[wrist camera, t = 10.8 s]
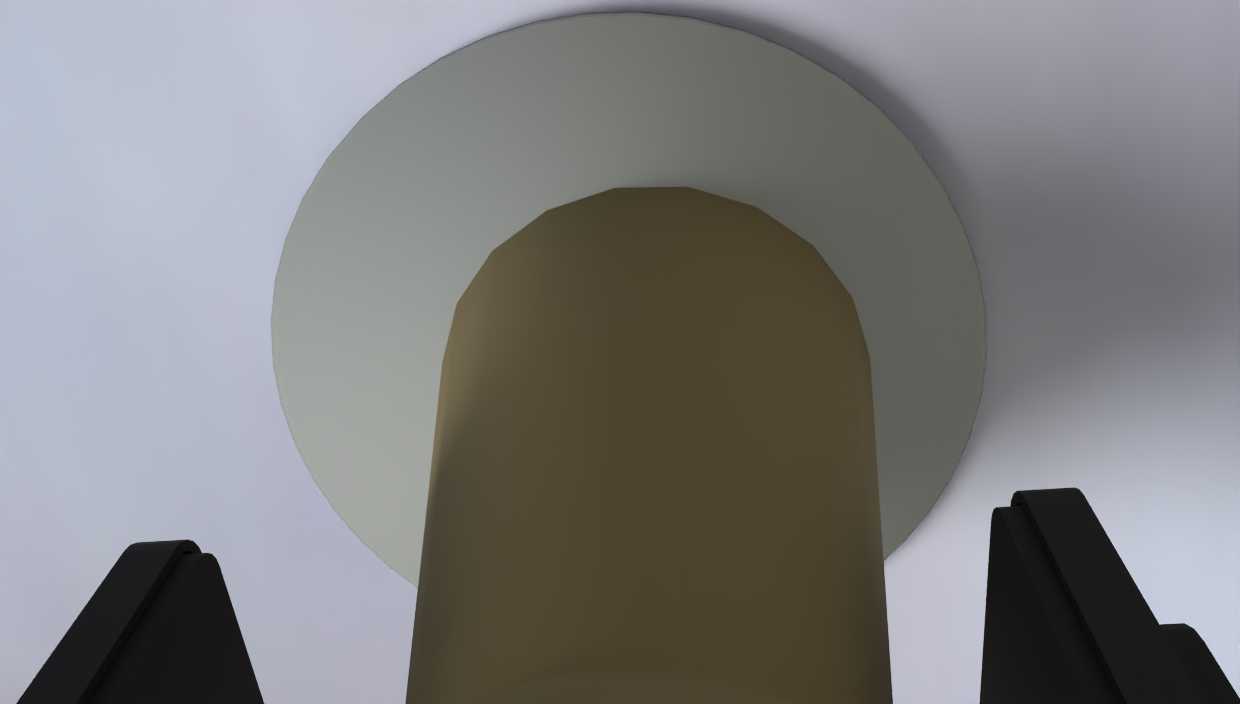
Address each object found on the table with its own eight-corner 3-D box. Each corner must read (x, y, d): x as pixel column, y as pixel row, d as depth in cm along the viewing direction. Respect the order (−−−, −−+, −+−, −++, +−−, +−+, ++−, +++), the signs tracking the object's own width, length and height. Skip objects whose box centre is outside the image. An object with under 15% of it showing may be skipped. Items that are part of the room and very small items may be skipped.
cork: (455, 155, 14) (-6, 962, 5) (918, 217, 14) (1438, 1127, 5) (432, 534, 17) (116, 1543, 7) (821, 583, 17) (1023, 1639, 7)
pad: (1000, -26, 13) (1007, -23, 13) (965, 623, 18) (970, 635, 18) (195, 50, 14) (186, 55, 14) (356, 653, 19) (352, 666, 18)
